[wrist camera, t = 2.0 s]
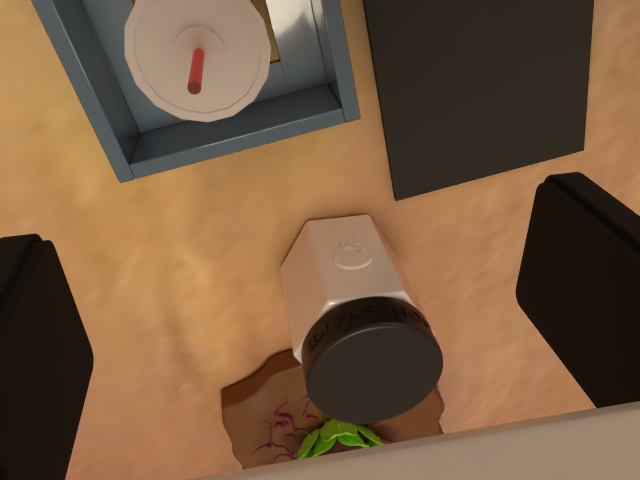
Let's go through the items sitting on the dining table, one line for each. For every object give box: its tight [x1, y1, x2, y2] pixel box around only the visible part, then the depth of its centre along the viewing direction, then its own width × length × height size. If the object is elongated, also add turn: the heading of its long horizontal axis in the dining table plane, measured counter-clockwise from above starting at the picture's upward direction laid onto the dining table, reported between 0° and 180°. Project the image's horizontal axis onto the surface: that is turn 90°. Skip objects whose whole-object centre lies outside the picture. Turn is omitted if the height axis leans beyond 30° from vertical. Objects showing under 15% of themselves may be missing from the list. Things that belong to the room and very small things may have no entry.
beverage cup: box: [125, 0, 271, 122], centre depth 24 cm, size 6×6×14 cm
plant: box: [221, 350, 444, 469], centre depth 45 cm, size 20×20×11 cm
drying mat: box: [363, 0, 594, 201], centre depth 33 cm, size 14×20×1 cm
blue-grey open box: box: [31, 0, 361, 183], centre depth 28 cm, size 14×13×5 cm
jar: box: [280, 214, 443, 424], centre depth 36 cm, size 9×8×12 cm
